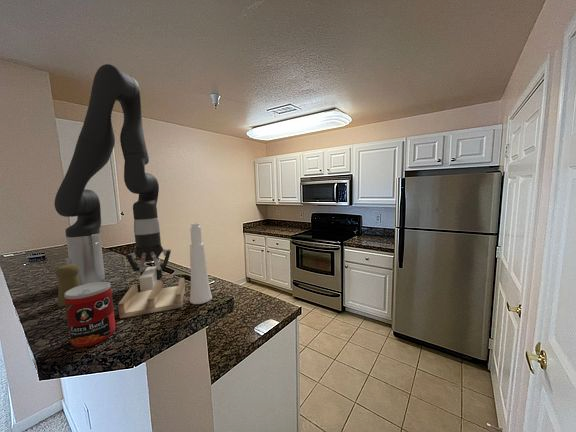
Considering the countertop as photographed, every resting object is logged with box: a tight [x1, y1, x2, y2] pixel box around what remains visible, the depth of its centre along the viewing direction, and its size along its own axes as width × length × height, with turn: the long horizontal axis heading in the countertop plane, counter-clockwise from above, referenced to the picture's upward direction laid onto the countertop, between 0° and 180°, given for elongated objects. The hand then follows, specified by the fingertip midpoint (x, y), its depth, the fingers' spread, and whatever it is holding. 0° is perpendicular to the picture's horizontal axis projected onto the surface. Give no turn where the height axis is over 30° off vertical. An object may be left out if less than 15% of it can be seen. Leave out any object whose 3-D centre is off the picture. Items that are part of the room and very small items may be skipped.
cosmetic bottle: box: [189, 222, 213, 305], centre depth 69 cm, size 6×6×22 cm
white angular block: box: [138, 265, 158, 292], centre depth 82 cm, size 4×12×5 cm, turn 20°
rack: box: [117, 277, 186, 319], centre depth 70 cm, size 14×14×4 cm
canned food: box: [64, 281, 116, 348], centre depth 53 cm, size 8×8×11 cm
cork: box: [54, 264, 81, 307], centre depth 72 cm, size 6×6×11 cm
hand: (152, 280), depth 85 cm, fingers open, 3 cm apart
